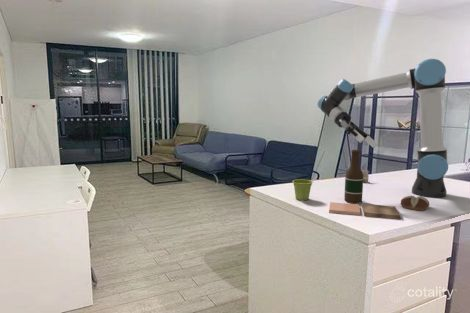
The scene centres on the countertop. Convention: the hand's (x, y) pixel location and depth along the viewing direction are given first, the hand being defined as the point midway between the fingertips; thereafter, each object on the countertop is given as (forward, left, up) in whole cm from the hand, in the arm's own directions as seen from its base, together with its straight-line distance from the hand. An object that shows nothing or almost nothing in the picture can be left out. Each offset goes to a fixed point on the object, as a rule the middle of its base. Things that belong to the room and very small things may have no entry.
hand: (369, 143), depth 152 cm
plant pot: (+29, +9, -27) cm, 41 cm away
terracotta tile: (+10, +21, -27) cm, 36 cm away
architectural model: (-1, -41, -27) cm, 49 cm away
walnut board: (-4, +21, -27) cm, 34 cm away
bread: (-19, +7, -27) cm, 34 cm away
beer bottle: (+6, +6, -27) cm, 28 cm away
